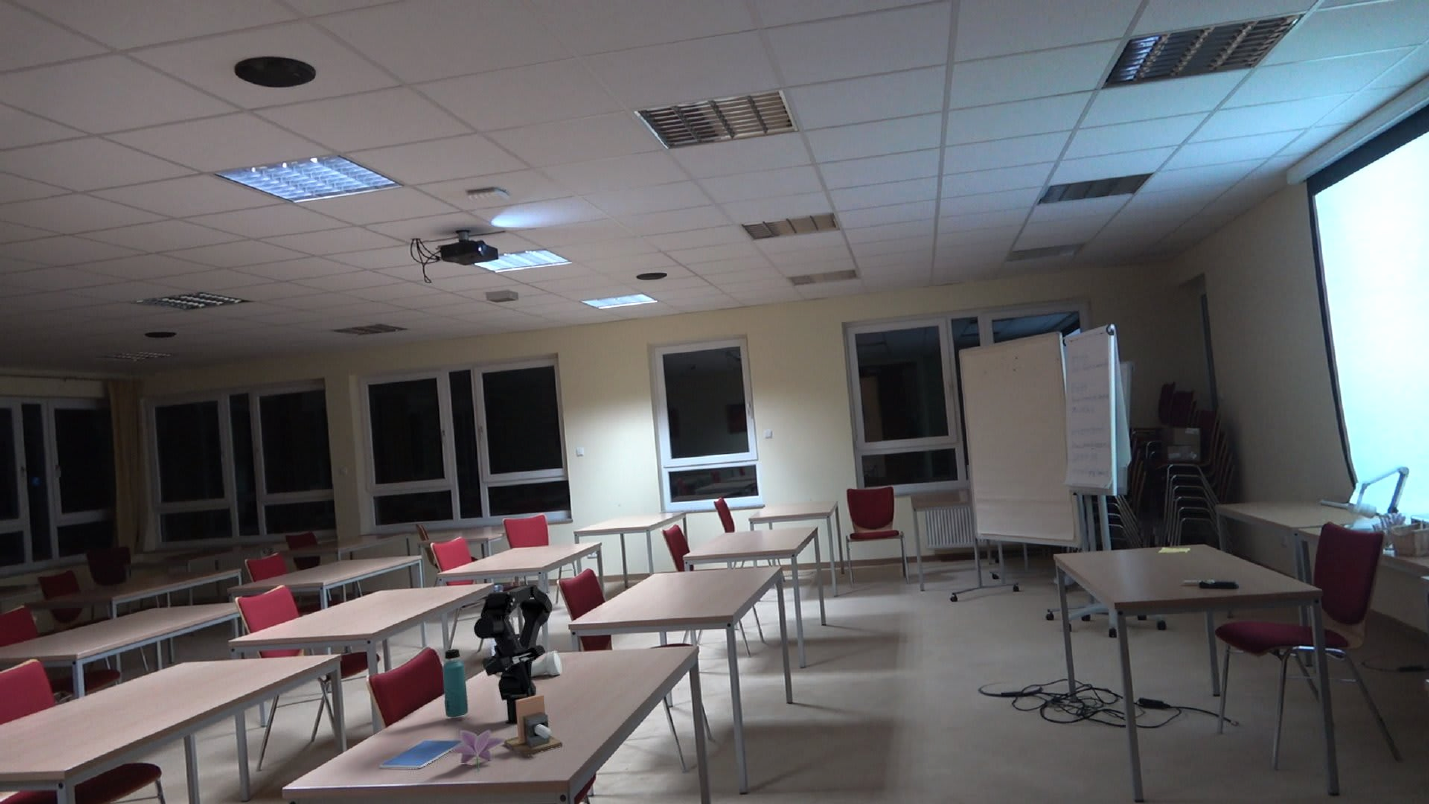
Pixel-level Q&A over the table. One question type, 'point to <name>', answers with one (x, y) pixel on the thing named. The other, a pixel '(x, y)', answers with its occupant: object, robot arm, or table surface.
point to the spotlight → (547, 665)
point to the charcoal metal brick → (529, 735)
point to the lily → (476, 746)
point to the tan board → (527, 750)
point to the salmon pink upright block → (528, 708)
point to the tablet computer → (421, 754)
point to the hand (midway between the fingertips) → (529, 688)
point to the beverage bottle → (454, 685)
